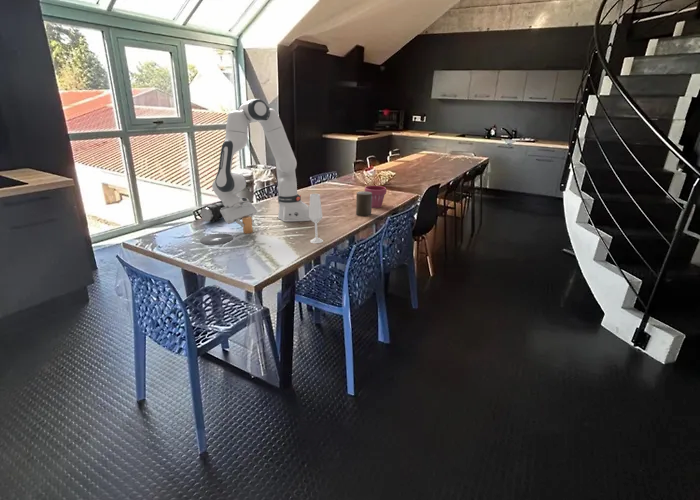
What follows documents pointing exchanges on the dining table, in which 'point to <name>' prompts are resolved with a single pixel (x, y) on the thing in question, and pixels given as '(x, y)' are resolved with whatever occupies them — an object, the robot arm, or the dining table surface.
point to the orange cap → (247, 225)
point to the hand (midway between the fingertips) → (248, 224)
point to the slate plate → (216, 239)
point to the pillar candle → (363, 203)
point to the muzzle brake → (212, 212)
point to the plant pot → (376, 195)
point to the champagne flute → (315, 214)
